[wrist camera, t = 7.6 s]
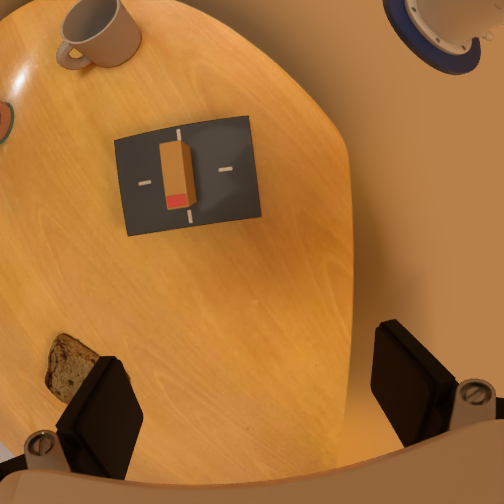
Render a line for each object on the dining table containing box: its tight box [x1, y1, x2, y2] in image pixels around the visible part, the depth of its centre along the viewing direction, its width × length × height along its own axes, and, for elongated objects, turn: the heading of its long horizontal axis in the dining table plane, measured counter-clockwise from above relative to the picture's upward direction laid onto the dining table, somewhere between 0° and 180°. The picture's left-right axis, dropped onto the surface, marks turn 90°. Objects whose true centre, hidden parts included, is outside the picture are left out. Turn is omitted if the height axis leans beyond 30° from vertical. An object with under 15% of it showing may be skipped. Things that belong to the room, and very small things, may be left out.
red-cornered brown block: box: [159, 140, 197, 210], centre depth 28 cm, size 6×2×6 cm, turn 7°
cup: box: [56, 0, 141, 70], centre depth 24 cm, size 7×10×9 cm
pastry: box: [45, 334, 130, 405], centre depth 38 cm, size 17×17×3 cm
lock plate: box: [114, 116, 261, 236], centre depth 32 cm, size 15×11×3 cm
